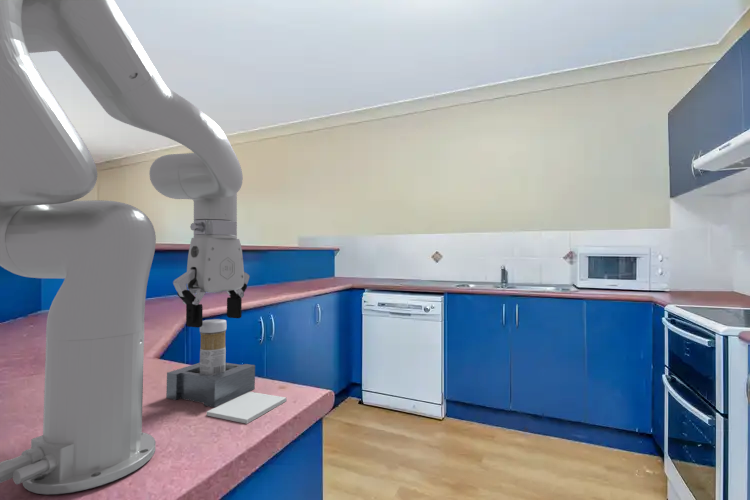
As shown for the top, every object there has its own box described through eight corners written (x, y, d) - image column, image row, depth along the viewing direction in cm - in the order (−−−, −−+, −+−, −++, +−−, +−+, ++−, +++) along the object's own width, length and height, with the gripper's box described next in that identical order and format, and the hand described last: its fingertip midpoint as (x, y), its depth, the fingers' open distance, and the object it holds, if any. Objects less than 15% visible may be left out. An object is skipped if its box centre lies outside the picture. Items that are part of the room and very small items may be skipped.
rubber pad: (246, 423, 56) (247, 419, 56) (206, 415, 59) (206, 411, 59) (286, 401, 66) (286, 397, 66) (249, 394, 69) (249, 391, 69)
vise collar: (214, 407, 63) (214, 380, 63) (166, 398, 67) (166, 372, 67) (254, 388, 72) (255, 365, 72) (210, 381, 76) (210, 359, 76)
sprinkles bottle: (221, 387, 73) (222, 317, 73) (228, 394, 69) (230, 320, 69) (195, 392, 70) (197, 320, 70) (202, 399, 66) (203, 323, 67)
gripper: (192, 227, 61) (192, 332, 61) (261, 232, 77) (261, 316, 77) (159, 228, 64) (159, 329, 64) (233, 233, 80) (233, 313, 80)
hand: (215, 321), depth 70 cm, fingers open, 9 cm apart
